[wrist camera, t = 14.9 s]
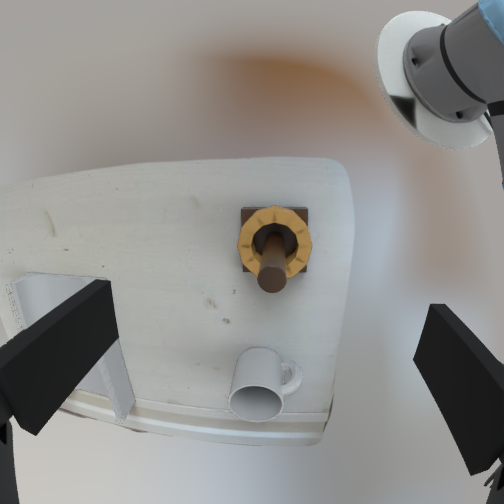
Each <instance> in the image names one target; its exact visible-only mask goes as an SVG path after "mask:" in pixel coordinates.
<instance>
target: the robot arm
mask: <svg viewBox="0 0 504 504" xmlns="http://www.w3.org/2000/svg"><path fill="white" fill-rule="evenodd" d="M403 68H404V73H405V76H406V79H407V82H408V84H409V86H410V88H411V90H412V92H413V93H414V95H415V96H416V98H417V99H418V100H419V102H420V103H421V104H422V105H423V106H424V107H425V108H426V109H427V110H428V111H429V112H431V113H432V114H433V115H435V116H436V117H438V118H440V119H442V120H444V121H447V122H450V123H466V122H471V121H474V120H476V119H478V118H479V117H480V116H481V115H483V114H484V116H485V117H486V119H487V121H488V122H489V124H490V126H491V127H492V129H493V131H494V134H495V139H496V144H497V148H498V154H499V159H500V165H501V171H502V177H503V182H502V185H503V189H504V0H479V1H478V2H477V3H476V4H474V5H473V6H472V7H470V8H469V9H468V10H466V11H465V12H464V13H462V14H461V15H460V16H459V17H457V18H456V19H454V20H453V21H452V22H451V23H449V24H448V25H445V24H443V23H442V24H441V25H439V26H435V27H429V28H424V29H422V30H420V31H418V32H417V33H415V34H414V35H413V36H412V37H411V38H410V39H409V40H408V42H407V43H406V45H405V48H404V51H403ZM487 110H488V111H489V114H490V116H489V114H488V113H487ZM118 338H119V334H118V328H117V323H116V317H115V310H114V304H113V297H112V289H111V281H108V280H100V279H95V280H94V281H92V282H91V283H89V284H88V285H86V286H85V287H84V288H82V289H81V290H79V291H78V292H76V293H75V294H74V295H72V296H71V297H69V298H68V299H66V300H65V301H64V302H62V303H61V304H59V305H58V306H57V307H55V308H54V309H53V310H51V311H50V312H48V313H47V314H46V315H44V316H43V317H42V318H40V319H39V320H38V321H36V322H35V323H34V324H32V325H31V326H30V327H28V328H27V329H24V330H22V331H21V332H20V333H18V334H17V335H16V336H14V337H13V339H11V340H9V341H8V342H7V344H4V345H3V346H2V347H0V504H19V498H18V491H17V484H16V476H15V468H14V456H13V435H12V425H11V423H10V421H9V419H10V418H11V417H12V415H14V417H15V419H16V420H17V422H18V424H19V426H20V427H21V428H22V429H24V430H26V431H28V432H29V433H31V434H33V435H35V436H36V435H37V434H38V433H39V432H40V430H41V429H42V428H43V427H44V425H45V424H46V423H47V422H48V420H49V419H50V418H51V417H52V415H53V414H54V413H55V412H56V411H57V409H58V408H59V407H60V406H61V404H62V403H63V402H64V401H65V400H66V398H67V397H68V396H69V395H70V394H71V392H72V391H73V390H74V389H75V388H76V386H77V385H78V384H79V383H80V382H81V381H82V379H83V378H84V377H85V376H86V375H87V373H88V372H89V371H90V370H91V369H92V368H93V366H94V365H95V364H96V363H97V362H98V361H99V360H100V358H101V357H102V356H103V355H104V354H105V353H106V351H107V350H108V349H109V348H110V347H111V346H112V345H113V343H114V342H115V341H116V340H117V339H118ZM413 361H414V362H415V364H416V366H417V368H418V369H419V371H420V373H421V375H422V377H423V379H424V380H425V382H426V384H427V386H428V388H429V390H430V392H431V394H432V396H433V397H434V399H435V401H436V403H437V405H438V407H439V409H440V411H441V413H442V415H443V417H444V419H445V421H446V423H447V425H448V427H449V429H450V431H451V433H452V435H453V438H454V440H455V442H456V444H457V446H458V448H459V450H460V453H461V455H462V457H463V459H464V461H465V464H466V466H467V468H468V471H469V473H470V475H471V476H472V475H475V474H478V473H481V472H483V471H486V470H488V469H489V468H490V467H491V466H492V465H493V463H494V462H495V461H496V460H497V458H498V457H499V459H500V461H501V463H502V464H501V465H500V466H499V467H498V468H497V469H496V471H495V472H494V473H493V474H492V475H491V476H490V477H489V478H488V480H487V481H486V482H485V484H484V486H487V485H488V484H489V483H490V482H491V480H493V479H494V481H493V484H492V485H491V486H490V488H491V490H490V493H489V496H488V499H487V502H486V504H504V364H502V363H501V362H499V361H498V360H497V359H496V358H495V357H494V356H493V354H492V353H491V352H490V351H489V350H488V349H487V348H486V347H485V345H484V344H483V343H482V342H481V341H480V340H479V339H478V338H477V337H476V336H475V335H474V333H473V332H472V331H471V330H470V329H469V328H468V327H467V326H466V325H465V324H464V323H463V322H462V321H461V320H460V319H459V318H458V317H457V316H456V315H455V314H454V313H453V312H452V311H451V310H450V309H449V308H448V307H447V306H446V304H430V306H429V310H428V314H427V317H426V321H425V324H424V328H423V331H422V334H421V338H420V340H419V344H418V347H417V350H416V353H415V355H414V358H413Z"/></svg>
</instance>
